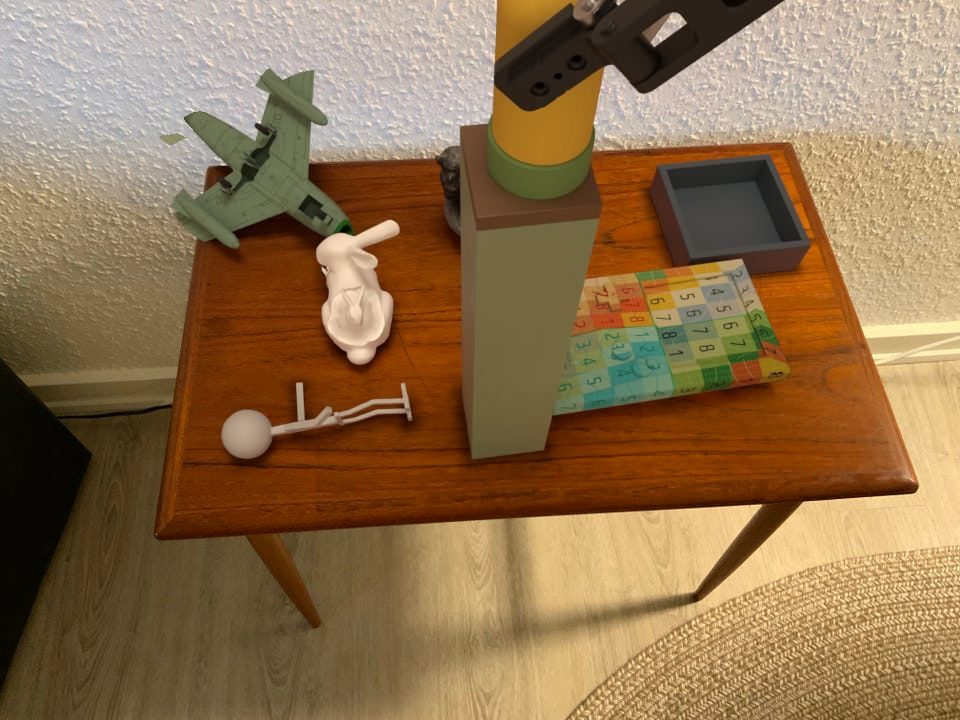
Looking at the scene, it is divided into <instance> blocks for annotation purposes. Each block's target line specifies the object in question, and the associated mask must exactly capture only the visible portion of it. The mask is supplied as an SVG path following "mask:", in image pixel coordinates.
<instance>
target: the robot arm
mask: <svg viewBox="0 0 960 720" xmlns="http://www.w3.org/2000/svg"><path fill="white" fill-rule="evenodd" d="M616 1H617V2H618V0H578V1H577V3H576V5H575V7H574V6H573V4H572V3H569V4H568V5H567V6H565V7H564V8H563V9H562V10H560V11H559V12H558V13H557V14H555V15H554V16H553V17H551V18H550V19H549V20H548V21H546V22H545V23H544V24H542V25H541V26H540V27H539V28H537V29H536V30H535V31H533V32H532V33H531V34H530V35H528V36H527V37H526V38H525V39H523V40H522V41H521V42H519V43H518V44H517V45H516V46H514V47H513V48H512V49H510V50H509V51H508V52H507V53H505V54H504V55H503V56H501V57H500V58H499V59H498V60H497V61H496V62H495V61H494V63H493V64H494V65H493V86H494V85H495V86H496V88H497V89H499V90H500V91H501V92H502V93H503V94H504V95H505V96H507V97H508V98H509V99H510V100H511V101H512V102H513V103H514V104H516V105H517V106H518V107H519V108H520V109H522V110H524V111H535V110H538V109H540V108H543V107H546V106H547V105H549V104H550V103H551V102H553V101H554V100H556V99H557V97H560V96H562V95H563V94H564V93H566V91H569V90H570V89H572V88H573V87H575V86H576V85H578V84H579V83H580V82H582V81H583V80H585V79H586V78H588V77H589V76H591V75H592V74H593V73H595V72H596V71H598V70H599V69H601V68H603V67H605V68H606V67H608V66H614V67H615V68H616V69H617V71H619V72H620V74H621V75H622V76H623V77H624V78H625V79H626V80H627V81H628V83H629V84H630V85H631V86H632V87H633V88H634V89H635V90H636V92H637V93H639V94H642V95H645V94H649V93H651V92H654V91H655V90H657V89H658V88H659V87H661V86H662V85H664V84H665V83H667V82H669V80H671V79H672V78H674V77H675V76H677V75H678V74H680V73H681V72H682V71H684V70H685V69H687V68H688V67H689V66H692V65H693V64H694V63H696V62H697V61H699V60H700V59H701V58H703V57H704V56H706V55H708V53H711V52H712V51H713V50H715V49H716V48H718V47H719V46H721V45H722V44H724V43H725V42H726V41H727V40H729V39H731V38H732V37H734V36H735V35H737V34H738V33H739V32H741V31H743V29H745V28H747V27H748V26H750V25H751V24H752V23H754V22H756V21H757V20H758V19H760V18H761V17H762V16H764V15H766V14H768V13H769V12H770V11H771V10H773V9H774V8H775V7H776V8H777V6H778V5H780V4H782V3H783V2H785V0H623V1H622V2H621V3H619V4H618V3H617V4H616ZM673 13H674V14H675V13H676V14H679V15H680V17H681V18H682V19H683V21H684V22H685V24H683V25H682V26H681V27H680V28H678V29H677V30H676V31H674V32H672V33H671V34H670V35H668V36H667V37H666V38H664V39H663V40H662V41H660V42H659V43H658V44H656V45H655V46H654V45H653V44H652V41H653V40H654V38H655V37H656V36H657V34H658V33H659V32H660V30H661V29H662V28H663V27H664V25H665V23H666V22H667V21H668V19H669V18H670V16H671V15H672V14H673Z"/></svg>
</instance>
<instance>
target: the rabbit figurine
mask: <svg viewBox="0 0 960 720" xmlns="http://www.w3.org/2000/svg"><path fill="white" fill-rule="evenodd" d="M400 232H401V231H400V225H399V224H398V223H397V222H396V221H394V220H392V219H387V220H385V221H383V222H380V223H379V224H377V225H374V226H372V227H371V228H368V229H367V230H364V231H363V232H361V233H358V234H356V235H353V236H351V235H348V234H345V233H337V234H334V235H331V236H330V237H328V238H327V237H325V239H324V240H322V241H321V242H320V243H319V245H318V246H317V248H316V250H315V256H316V261H317V262H318V264H320V265H321V272H322V274H323V275H324V276H325V279H326V281H325V282H326V287H327V289H328V296H327V297H328V298H327V300H326V301H325V302H324V303H323V305H322V306H321V319H322V321H321V322H322V324H323V327H324V329H325V332H326V334H327V335H328V336H329V338H330V339H331V341H333V343H334V344H336V346H337V347H339V349H341V350H342V351H344V352H346V357H347V360H348V361H350V362H351V363H352V364H354V365H359V366H361V365H365V364H368V363H369V362H370V361H372V360H373V359H374V357H375V355H376V353H377V347H379V346H381V345H383V344H384V343H385V342H386V340H387V339H388V338H389V336H390V333H391V326H392V322H393V314H394V299H393V297H392V295H391V293H389V292H388V291H385V290H382V288H381V286H380V284H379V280H378V275H377V273H376V271H375V268H376V267H378V264H379V261H378V257H376V256H375V255H373V254H372V253H369V252H367V251H365V250H364V249H365V248H366V247H369V246H372V245H374V244H377V243H380V242H382V241H385V240H388V239H391V238H394V237H396V236H398V235H399V234H400ZM323 266H325V267H326V268H324V267H323Z"/></svg>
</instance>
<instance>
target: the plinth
mask: <svg viewBox="0 0 960 720" xmlns="http://www.w3.org/2000/svg"><path fill="white" fill-rule="evenodd" d="M487 130H488V123H478V124H467V125H460V126H459V146H460V199H461V237H460V292H461V293H460V296H461V297H460V301H461V302H460V303H461V305H460V307H461V309H460V310H461V312H460V313H461V396H462V403H463V409H464V417H465V424H466V429H467V436H468V443H469V450H470V457H471V460H478V459H479V460H480V459H486V458H487V459H488V458H494V457H501V456H510V455H518V454H525V453H526V454H527V453H532V452H539V451H540V452H541V451H544V450H545V447H546V443H547V440H548V435H549V431H550V427H551V424H552V423H551V422H552V418H553V415H552V414H553V410H554V406H555V402H556V398H557V394H558V390H559V385H560V381H561V377H562V373H563V369H564V365H565V361H566V356H567V352H568V348H569V344H570V340H571V336H572V332H573V327H574V323H575V319H576V315H577V311H578V307H579V303H580V299H581V294H582V290H583V286H584V282H585V279H587V278H586V277H587V275H588V270H589V266H590V265H589V264H590V261H591V257H592V253H593V248H594V244H595V241H596V236H597V233H598V228H599V225H600V224H599V223H600V220H601V215H602V211H603V208H604V207H603V206H604V204H603V203H604V202H603V200H602V196H601V194H600V190H599V187H598V183H597V180H596V175H595V172H594V169H593V166H592V163H591V161H590V166H589V170H588V174H587V176H586V178H585V179H584V181H583V182H582V183H581V184H580V185H579V186H578V187H577V188H576V189H575V190H573V191H572V192H570V193H568V194H566V195H564V196H561V197H558V198H553V199H546V200H535V199H528V198H523V197H520V196H517V195H514V194H512V193H510V192H508V191H507V190H505V189H504V188H502V187H501V186H500V185H499V184H498V183H497V182H496V181H495V180H494V179H493V177H492V176H491V174H490V172H489V170H488V167H487V161H486V159H487Z"/></svg>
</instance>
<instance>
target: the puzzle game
mask: <svg viewBox="0 0 960 720" xmlns="http://www.w3.org/2000/svg"><path fill="white" fill-rule="evenodd" d="M791 374H792V370H791V367H790V365H789V363H788V361H787V358H786V355H785V354H784V351H783V349H782V347H781V345H780V342H779V340H778V338H777V336H776V333H775V331H774V329H773V326H772V324H771V322H770V319H769V317H768V314H767V312H766V310H765V308H764V306H763V303H762V301H761V298H760V297H759V295H758V292H757V290H756V287H755V285H754V282H753V281H752V277H751V275H749V273H748V271H747V269H746V266H745V264H744V262H743V260H742V259H736V260H729V261H721V262H714V263H707V264H699V265H692V266H684V267H676V268H675V267H669V268H662V269H653V270H647V271H640V272H639V271H637V272H630V273H621V274H615V275H608V276H600V277H599V276H598V277H592V278H585V282H584V286H583V290H582V294H581V299H580V303H579V307H578V311H577V315H576V319H575V323H574V327H573V332H572V336H571V340H570V344H569V348H568V352H567V356H566V361H565V365H564V369H563V373H562V377H561V381H560V385H559V390H558V394H557V398H556V402H555V406H554V410H553V414H552V416H559V415H565V414H572V413H579V412H585V411H592V410H598V409H605V408H612V407H618V406H625V405H630V404H637V403H644V402H649V401H657V400H664V399H669V398H676V397H683V396H688V395H689V396H690V395H695V394H701V393H709V392H714V391H720V390H726V389H733V388H739V387H744V386H751V385H756V384H765V383H769V382H777V381H783V380H785V379H788V377H789V376H790V375H791Z"/></svg>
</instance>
